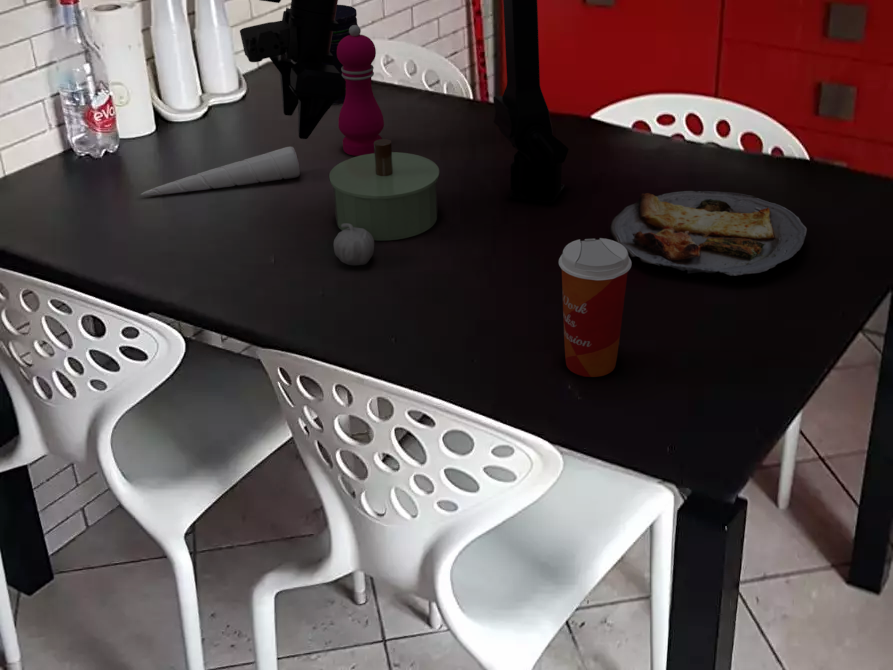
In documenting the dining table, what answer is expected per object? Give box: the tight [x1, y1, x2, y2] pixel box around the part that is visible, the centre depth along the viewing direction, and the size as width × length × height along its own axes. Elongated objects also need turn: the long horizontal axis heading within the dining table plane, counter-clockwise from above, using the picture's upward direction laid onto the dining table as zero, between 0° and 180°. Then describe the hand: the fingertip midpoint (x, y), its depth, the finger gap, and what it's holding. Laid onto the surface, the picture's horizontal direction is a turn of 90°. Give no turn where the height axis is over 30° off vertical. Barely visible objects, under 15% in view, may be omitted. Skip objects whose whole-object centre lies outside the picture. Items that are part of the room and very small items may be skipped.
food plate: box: [609, 190, 808, 277], centre depth 154 cm, size 25×23×4 cm
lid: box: [328, 138, 440, 199], centre depth 160 cm, size 15×15×6 cm
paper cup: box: [558, 237, 633, 378], centre depth 126 cm, size 8×8×14 cm
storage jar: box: [322, 4, 359, 105], centre depth 206 cm, size 10×10×15 cm
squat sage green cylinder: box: [332, 181, 439, 242], centre depth 162 cm, size 14×14×6 cm
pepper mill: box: [337, 25, 385, 157], centre depth 182 cm, size 7×7×20 cm
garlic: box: [333, 223, 375, 266], centre depth 152 cm, size 6×5×5 cm
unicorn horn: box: [140, 145, 301, 196], centre depth 175 cm, size 5×24×5 cm, turn 103°
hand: (295, 126), depth 153 cm, fingers open, 9 cm apart
